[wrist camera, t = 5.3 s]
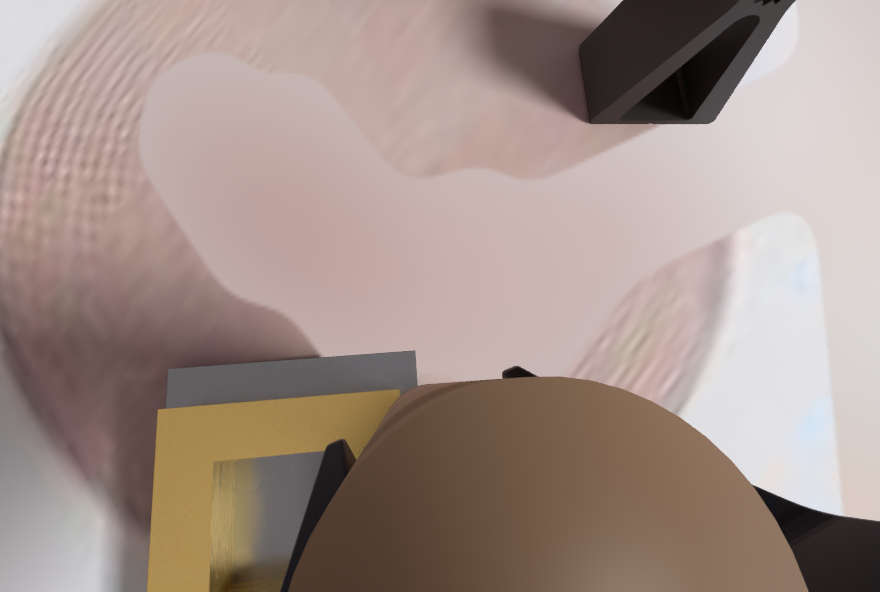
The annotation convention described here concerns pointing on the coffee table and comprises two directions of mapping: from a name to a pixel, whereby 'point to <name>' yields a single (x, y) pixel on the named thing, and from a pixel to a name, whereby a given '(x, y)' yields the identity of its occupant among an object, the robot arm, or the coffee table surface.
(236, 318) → the coffee table surface
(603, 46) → the phone stand
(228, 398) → the socket
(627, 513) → the pin
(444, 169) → the coffee table surface
